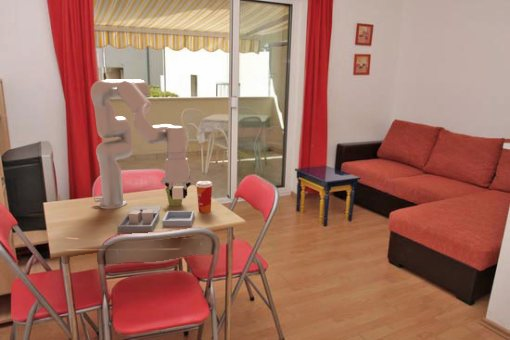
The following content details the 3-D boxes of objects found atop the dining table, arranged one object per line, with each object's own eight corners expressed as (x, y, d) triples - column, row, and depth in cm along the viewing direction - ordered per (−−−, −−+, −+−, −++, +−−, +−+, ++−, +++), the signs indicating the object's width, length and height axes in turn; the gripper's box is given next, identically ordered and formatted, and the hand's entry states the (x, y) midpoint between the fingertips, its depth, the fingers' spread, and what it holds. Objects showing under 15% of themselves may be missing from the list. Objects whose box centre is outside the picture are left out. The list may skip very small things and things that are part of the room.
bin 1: (118, 233, 162) (117, 226, 161) (128, 219, 177) (128, 212, 177) (152, 233, 162) (151, 226, 162) (159, 219, 178) (159, 212, 177)
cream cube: (172, 199, 169) (172, 189, 168) (174, 196, 174) (173, 186, 173) (183, 199, 169) (182, 188, 168) (184, 196, 174) (184, 186, 173)
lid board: (124, 218, 178) (124, 214, 178) (132, 208, 192) (132, 204, 191) (155, 218, 179) (155, 214, 178) (161, 207, 192) (161, 204, 192)
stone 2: (142, 223, 171) (142, 213, 170) (143, 219, 175) (142, 209, 174) (153, 222, 172) (152, 212, 171) (154, 218, 176) (153, 209, 175)
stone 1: (129, 222, 172) (128, 213, 171) (133, 219, 176) (132, 210, 175) (138, 223, 171) (137, 214, 170) (141, 219, 175) (141, 211, 174)
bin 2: (162, 227, 168) (162, 220, 168) (167, 217, 180) (167, 211, 179) (191, 227, 169) (191, 220, 168) (194, 217, 181) (194, 210, 180)
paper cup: (197, 208, 192) (196, 180, 189) (213, 208, 193) (212, 180, 189) (196, 214, 184) (195, 184, 181) (212, 213, 185) (212, 184, 182)
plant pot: (187, 202, 201) (186, 185, 199) (182, 208, 192) (181, 191, 190) (169, 201, 202) (168, 185, 200) (163, 208, 192) (162, 190, 190)
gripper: (154, 157, 163) (157, 200, 168) (196, 157, 164) (197, 199, 168) (158, 154, 171) (160, 195, 175) (197, 153, 171) (199, 194, 176)
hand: (178, 197), depth 172 cm, fingers closed on cream cube, 4 cm apart
